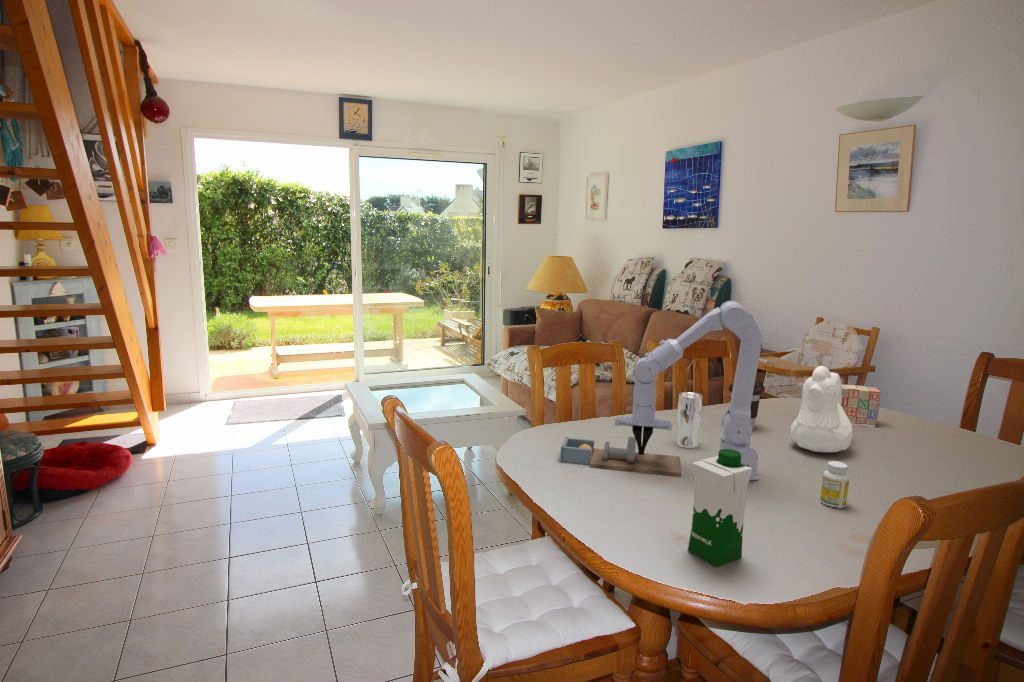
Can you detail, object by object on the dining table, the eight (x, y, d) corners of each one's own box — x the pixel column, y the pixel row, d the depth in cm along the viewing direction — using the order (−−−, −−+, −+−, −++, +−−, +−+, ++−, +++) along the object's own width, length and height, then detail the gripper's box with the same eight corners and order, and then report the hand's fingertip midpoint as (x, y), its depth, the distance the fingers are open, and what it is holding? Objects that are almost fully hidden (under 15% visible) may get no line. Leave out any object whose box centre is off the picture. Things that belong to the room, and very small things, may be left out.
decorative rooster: (830, 464, 166) (841, 374, 162) (775, 447, 178) (784, 363, 174) (872, 446, 181) (883, 364, 176) (819, 432, 193) (828, 354, 189)
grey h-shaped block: (635, 454, 166) (636, 437, 165) (634, 462, 161) (635, 444, 160) (605, 452, 168) (606, 434, 167) (603, 459, 162) (604, 441, 161)
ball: (581, 464, 166) (595, 459, 165) (575, 454, 164) (589, 450, 163) (580, 453, 169) (594, 449, 168) (574, 443, 167) (588, 439, 166)
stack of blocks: (804, 421, 205) (808, 385, 203) (801, 415, 211) (805, 381, 209) (876, 428, 199) (881, 391, 197) (871, 422, 205) (876, 386, 203)
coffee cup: (718, 425, 199) (722, 379, 196) (741, 421, 203) (745, 377, 200) (741, 434, 190) (746, 387, 187) (765, 430, 194) (770, 384, 191)
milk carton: (748, 558, 116) (758, 457, 113) (716, 571, 112) (725, 466, 108) (711, 538, 124) (719, 443, 120) (679, 550, 119) (687, 451, 116)
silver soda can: (697, 441, 182) (700, 392, 180) (701, 449, 175) (705, 398, 173) (673, 440, 183) (676, 391, 180) (677, 448, 176) (680, 397, 173)
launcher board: (679, 460, 167) (679, 456, 167) (681, 476, 155) (681, 472, 155) (594, 451, 172) (594, 448, 172) (589, 467, 160) (589, 463, 160)
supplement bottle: (828, 509, 138) (833, 468, 137) (815, 499, 144) (819, 460, 142) (851, 508, 139) (856, 468, 137) (836, 498, 144) (841, 459, 143)
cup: (593, 453, 170) (594, 440, 169) (590, 464, 162) (591, 450, 161) (564, 451, 172) (565, 437, 171) (560, 461, 164) (560, 447, 163)
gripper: (672, 402, 163) (669, 451, 165) (617, 397, 166) (614, 445, 168) (673, 409, 156) (669, 460, 158) (615, 404, 159) (612, 454, 161)
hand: (641, 453), depth 163 cm, fingers closed
